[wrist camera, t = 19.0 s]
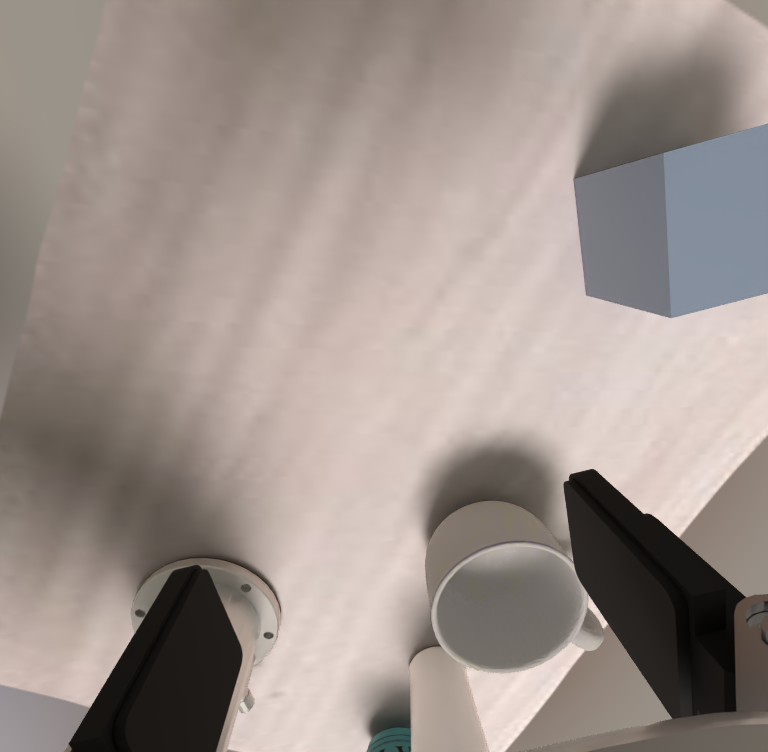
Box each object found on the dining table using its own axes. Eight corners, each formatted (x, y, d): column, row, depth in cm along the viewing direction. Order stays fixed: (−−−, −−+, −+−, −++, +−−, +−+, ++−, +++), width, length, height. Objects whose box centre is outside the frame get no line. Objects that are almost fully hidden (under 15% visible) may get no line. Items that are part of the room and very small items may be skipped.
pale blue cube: (696, 266, 29) (828, 277, 21) (586, 295, 29) (671, 318, 21) (693, 145, 27) (840, 103, 18) (573, 179, 27) (663, 152, 19)
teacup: (393, 545, 36) (398, 627, 28) (479, 456, 33) (511, 520, 26) (509, 621, 39) (542, 714, 31) (596, 544, 36) (656, 625, 29)
